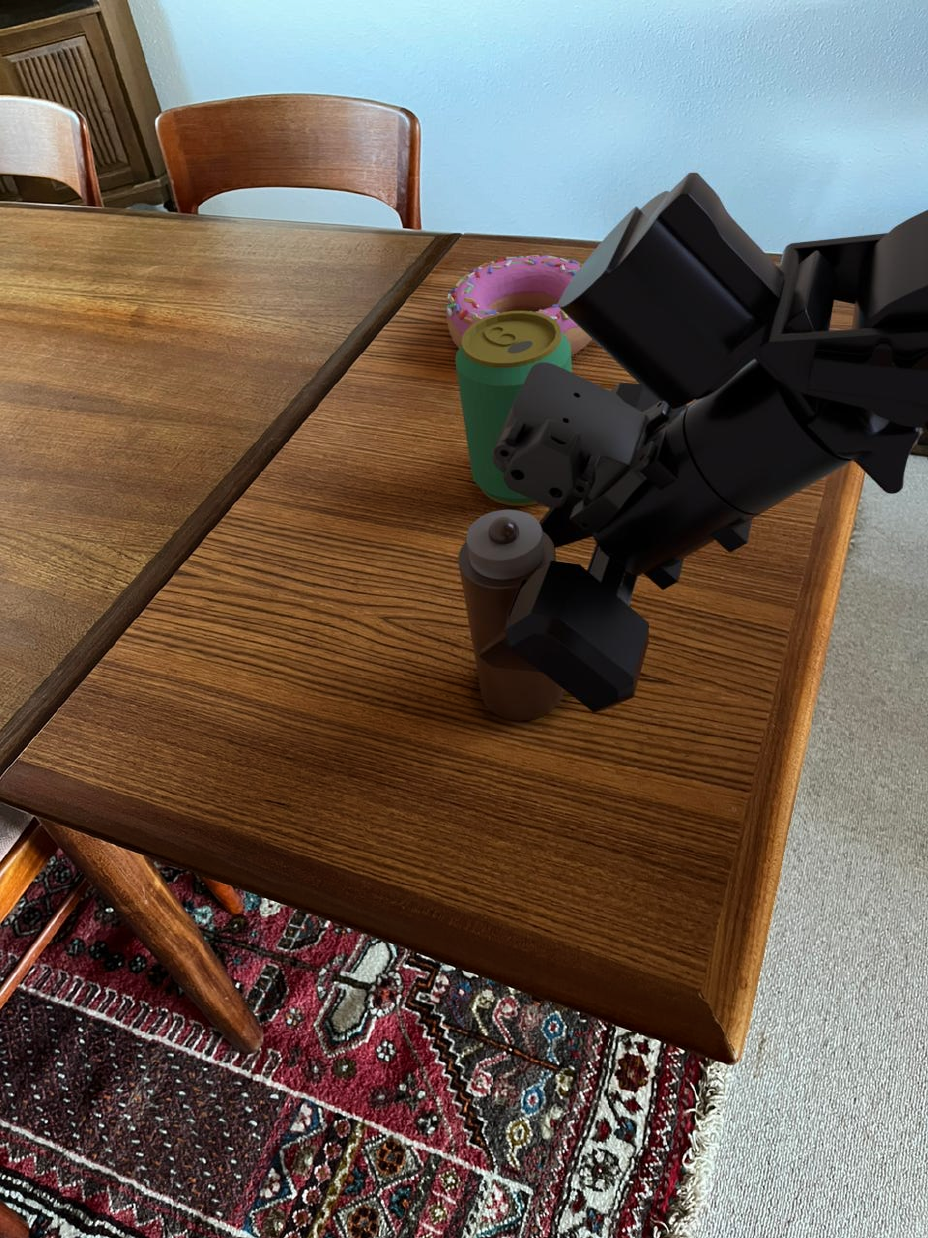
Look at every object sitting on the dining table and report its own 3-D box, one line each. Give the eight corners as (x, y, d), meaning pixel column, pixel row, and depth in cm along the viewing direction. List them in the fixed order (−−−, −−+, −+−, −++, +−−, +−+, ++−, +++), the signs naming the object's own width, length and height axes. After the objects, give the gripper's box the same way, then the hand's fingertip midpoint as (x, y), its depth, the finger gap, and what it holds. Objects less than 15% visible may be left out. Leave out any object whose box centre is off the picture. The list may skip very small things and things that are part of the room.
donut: (624, 305, 88) (624, 253, 85) (573, 387, 80) (571, 334, 76) (485, 291, 93) (480, 242, 90) (424, 367, 85) (415, 316, 81)
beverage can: (512, 524, 68) (496, 382, 60) (453, 474, 73) (430, 336, 65) (597, 478, 71) (594, 335, 62) (534, 432, 76) (523, 294, 67)
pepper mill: (544, 645, 60) (529, 477, 50) (579, 703, 56) (569, 534, 47) (469, 672, 59) (438, 507, 49) (499, 732, 56) (472, 567, 46)
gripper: (642, 229, 44) (456, 409, 56) (536, 469, 33) (327, 634, 44) (795, 385, 48) (590, 524, 59) (749, 654, 36) (503, 764, 47)
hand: (511, 598), depth 52 cm, fingers open, 9 cm apart
